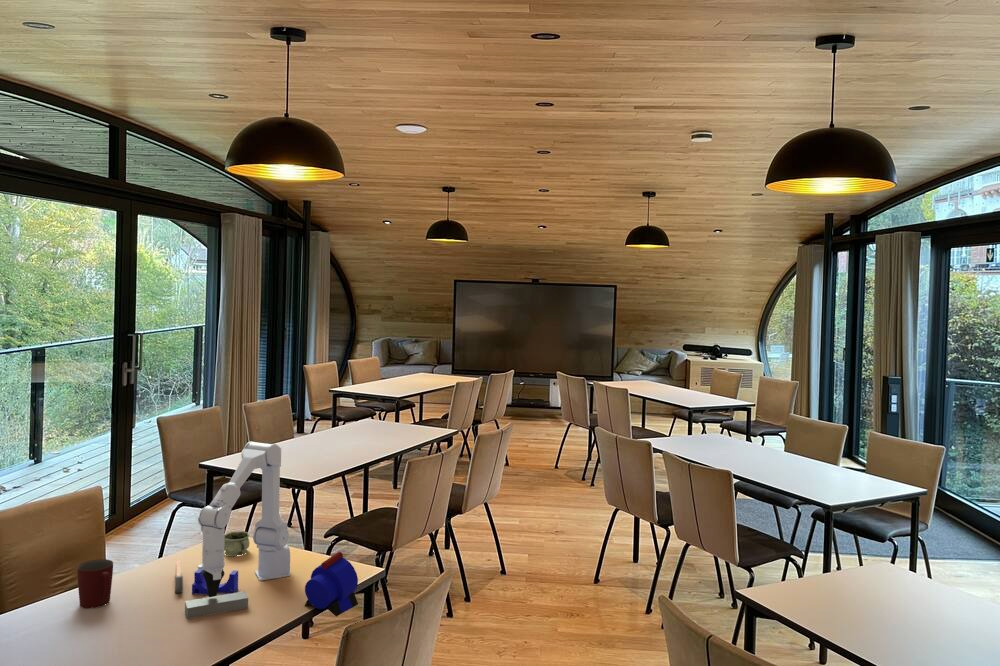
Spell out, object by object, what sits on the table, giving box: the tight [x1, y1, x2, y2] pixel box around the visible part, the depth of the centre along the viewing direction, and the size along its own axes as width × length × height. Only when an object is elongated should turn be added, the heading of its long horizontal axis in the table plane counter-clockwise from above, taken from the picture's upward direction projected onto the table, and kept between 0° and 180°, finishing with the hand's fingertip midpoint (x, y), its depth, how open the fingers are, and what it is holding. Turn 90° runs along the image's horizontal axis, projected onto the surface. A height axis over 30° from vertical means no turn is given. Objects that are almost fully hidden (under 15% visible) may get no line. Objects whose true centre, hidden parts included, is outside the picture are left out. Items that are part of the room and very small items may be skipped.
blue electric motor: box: [304, 551, 359, 617], centre depth 208 cm, size 12×12×15 cm
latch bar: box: [174, 559, 184, 594], centre depth 220 cm, size 16×2×4 cm, turn 25°
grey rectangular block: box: [184, 590, 249, 620], centre depth 203 cm, size 16×5×3 cm, turn 120°
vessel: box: [224, 530, 251, 557], centre depth 247 cm, size 12×9×6 cm
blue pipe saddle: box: [191, 568, 239, 596], centre depth 215 cm, size 12×4×6 cm, turn 89°
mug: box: [76, 558, 114, 609], centre depth 203 cm, size 12×9×11 cm
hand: (212, 595), depth 204 cm, fingers closed
